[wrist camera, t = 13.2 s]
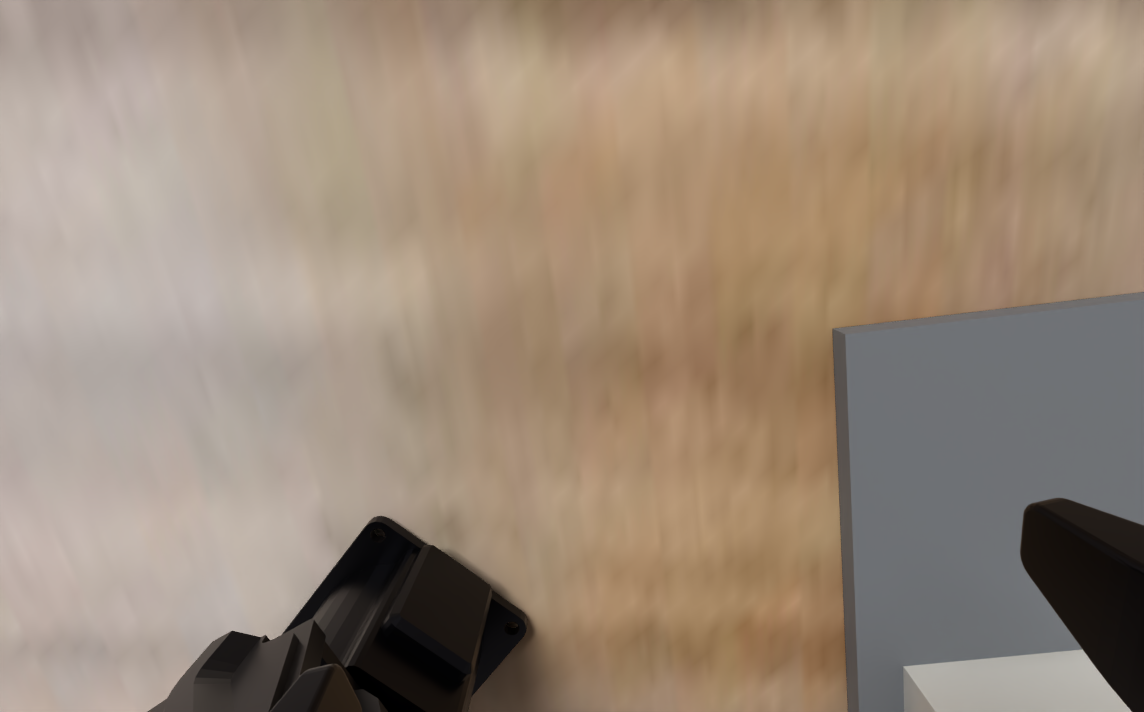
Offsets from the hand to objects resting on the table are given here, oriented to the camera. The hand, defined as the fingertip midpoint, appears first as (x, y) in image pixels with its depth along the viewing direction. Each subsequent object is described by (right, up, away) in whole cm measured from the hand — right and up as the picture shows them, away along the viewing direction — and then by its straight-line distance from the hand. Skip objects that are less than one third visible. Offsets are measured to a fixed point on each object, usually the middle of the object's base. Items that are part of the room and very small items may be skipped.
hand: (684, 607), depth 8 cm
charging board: (+14, -6, +14) cm, 20 cm away
